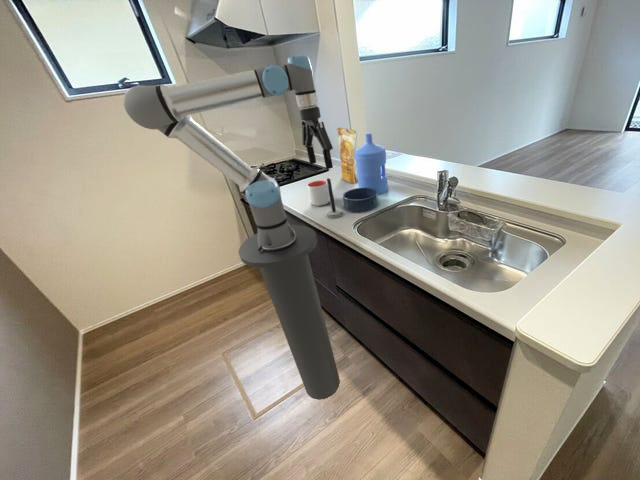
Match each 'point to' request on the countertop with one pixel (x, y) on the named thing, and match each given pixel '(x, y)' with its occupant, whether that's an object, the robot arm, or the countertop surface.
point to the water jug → (371, 166)
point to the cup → (319, 193)
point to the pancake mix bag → (347, 153)
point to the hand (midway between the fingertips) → (321, 165)
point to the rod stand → (332, 203)
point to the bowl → (360, 200)
